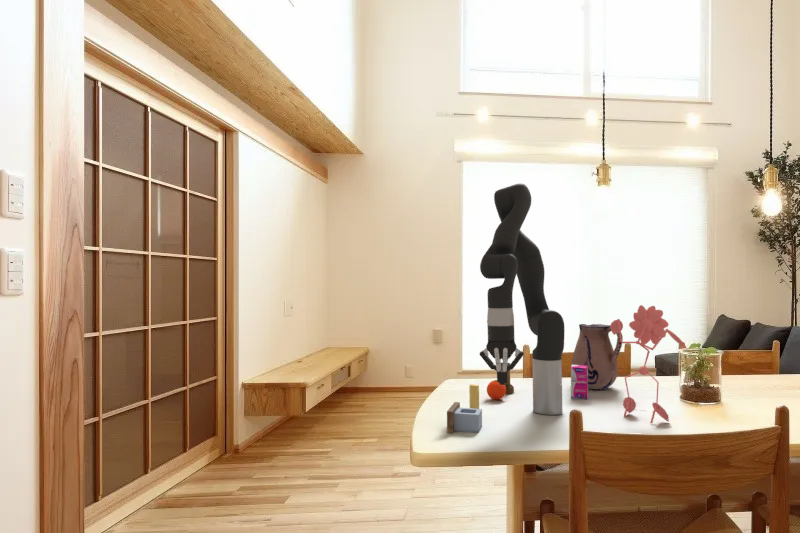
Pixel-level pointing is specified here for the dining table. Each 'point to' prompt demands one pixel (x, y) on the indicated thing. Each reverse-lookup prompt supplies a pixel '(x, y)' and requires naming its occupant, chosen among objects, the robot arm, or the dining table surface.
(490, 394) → the clementine
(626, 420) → the dining table surface
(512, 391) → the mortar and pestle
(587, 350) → the ceramic pitcher
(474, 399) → the dowel
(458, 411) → the socket block
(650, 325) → the figurine
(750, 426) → the dining table surface
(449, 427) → the wall
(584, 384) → the supplement box
